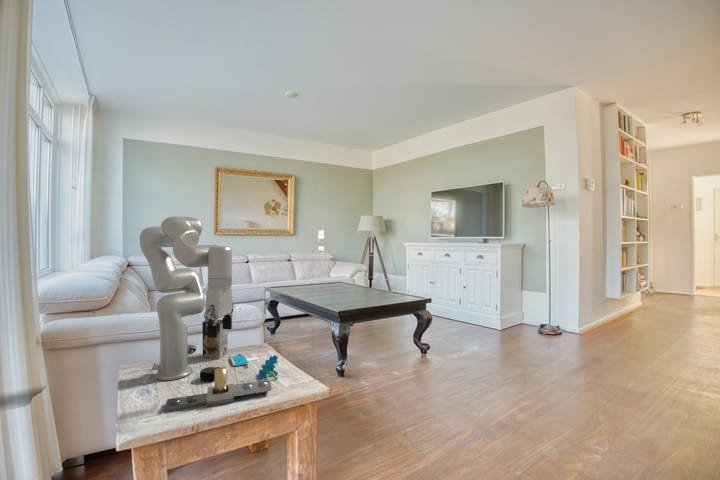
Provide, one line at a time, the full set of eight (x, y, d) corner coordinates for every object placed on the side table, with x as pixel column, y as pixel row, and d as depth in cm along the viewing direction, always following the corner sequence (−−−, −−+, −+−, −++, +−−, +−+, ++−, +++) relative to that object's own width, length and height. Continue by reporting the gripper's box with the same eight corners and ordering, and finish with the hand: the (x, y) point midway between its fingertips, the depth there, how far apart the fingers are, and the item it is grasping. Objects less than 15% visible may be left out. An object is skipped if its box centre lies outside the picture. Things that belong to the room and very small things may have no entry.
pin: (212, 401, 113) (212, 371, 113) (218, 396, 116) (218, 366, 116) (223, 402, 112) (223, 371, 112) (228, 397, 116) (228, 367, 116)
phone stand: (263, 366, 145) (263, 362, 145) (233, 372, 139) (233, 368, 139) (253, 353, 163) (253, 349, 163) (226, 357, 157) (226, 353, 157)
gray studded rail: (163, 414, 105) (163, 402, 105) (168, 402, 113) (167, 391, 113) (271, 396, 116) (271, 385, 116) (269, 386, 124) (269, 376, 124)
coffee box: (201, 357, 155) (201, 321, 155) (211, 353, 162) (210, 318, 162) (219, 359, 153) (219, 322, 153) (228, 354, 160) (228, 319, 160)
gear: (255, 368, 137) (274, 349, 138) (266, 377, 139) (284, 358, 140) (257, 383, 127) (277, 362, 128) (269, 392, 129) (288, 371, 130)
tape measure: (216, 382, 129) (216, 372, 129) (197, 383, 128) (197, 373, 128) (221, 375, 136) (221, 365, 136) (202, 376, 134) (202, 366, 134)
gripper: (222, 279, 126) (222, 325, 127) (194, 286, 109) (194, 340, 109) (242, 279, 125) (242, 326, 126) (217, 286, 108) (216, 341, 108)
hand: (219, 333), depth 117 cm, fingers open, 9 cm apart
